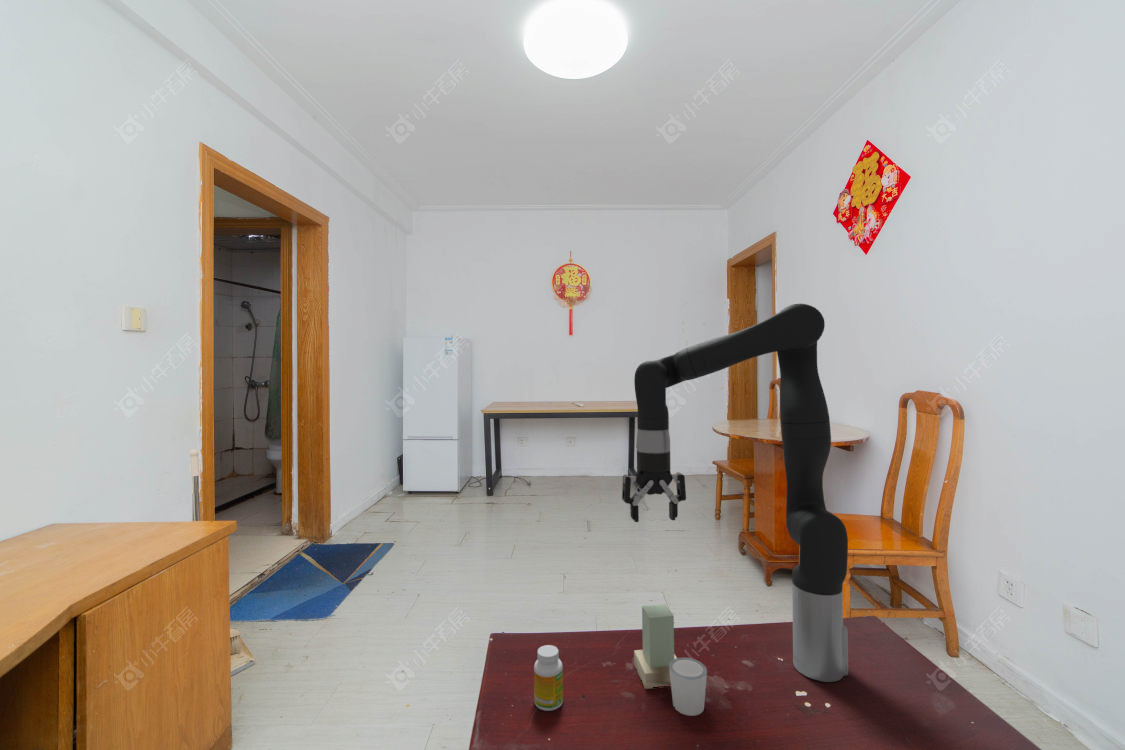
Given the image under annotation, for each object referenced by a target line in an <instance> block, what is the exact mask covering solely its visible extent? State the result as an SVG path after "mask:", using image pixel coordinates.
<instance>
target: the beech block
mask: <svg viewBox="0 0 1125 750" xmlns="http://www.w3.org/2000/svg"><path fill="white" fill-rule="evenodd" d="M677 658H678V657H677V656H676V654H675V653H674V659H677ZM633 665H634V668H635V669H637V670H636V671H637V674H638V676H639V679H640V681H641V680H642V681H641V683H642V684H643V688H644V690H646V689H647V690H648V689H654V688H653V687H658V686H665V685H671V680H670V671H669V666H666V667H655V668H650V667H649V665H648V663H647V661H646V659H645V657H644V655H643V649H637V650H636V649H635V650H633Z"/></svg>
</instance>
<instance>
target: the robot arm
mask: <svg viewBox="0 0 1125 750" xmlns="http://www.w3.org/2000/svg"><path fill="white" fill-rule="evenodd" d="M824 331H825V318H824V316H823V314H822V313H821V312H820V310H819V309H817V308H816V307H815V306H812V305H809V304H806V303H794V304H790V305H788V306H786V307H784V308H783V309H781V310H780V311H779V312H777V313H775V314H774V315H772V316H770V317H768V318H766V319H764V320H762V321H761V322H758V323H755V324H753V325H751V326H748V327H747V328H744V329H741V330H738V331H736V332H733V333H729V334H726V335H722V336H719V337H716V338H712V339H709V340H706V341H703V342H699V343H697V344H694V345H691V346H687V347H686V348H683V349H681V350H679V351H677V352H676V353H675V354H672V355H668V356H666V357H665V356H664V357H663V358H662V357H661V358H659V359H656V360H646V361H644V362H642V363H640V364H639V365H638V366H637V368H636V370H635V372H634V380H633V381H634V384H633V385H634V391H635V400H636V407H637V413H636V415H637V416H636V417H637V419H636V421H637V423H636V424H637V426H636V428H637V431H636V443H635V448H636V474H635V475H628V474H623V476H622V493H621V499H622V501H623V502H624V503H625V504H629V505H630V515H629V516H630V518H631V519H632V520H633V521H634V522H635V523H639V521H640V520H639V519H640V517H639V516H640V515H639V513H640V512H639V510H640V509H639V508H640V507H639V505H638V504H639V503H640V501H641V500H642V499H643V498H644V497H645V496H646V495H650V496H653V495H655V494H656V495H662V494H663V493H664V494H665V495H666V497H667V498H668V499H669V501H668V518H669V519H670V520H671V521H676V518H678V513H679V511H678V509H679V507H678V506H679V503H680V502H681V501H683V502H684V501H686V500H687V493H686V492H687V491H686V478H685V475H684V474H682V473H681V472H676V473H674V474H672V473H671V437H670V423H669V422H670V417H669V407H668V406H667V403H666V402H667V401H666V400H667V395H666V393H667V392H666V391H667V389H668V388H670V387H672V386H675V385H678V384H680V383H683V382H685V381H690V380H694V379H698V378H701V377H704V376H707V375H710V374H713V373H716V372H720V371H722V370H724V369H727V368H730V367H732V366H735V365H737V364H740V363H742V362H745V361H747V360H751V359H753V358H756V357H759V356H762V355H766V354H771V353H774V352H775V353H776V354H777V359H778V366H779V376H780V377H779V380H780V381H779V420H780V430H781V432H780V434H781V441H782V449H783V450H782V451H783V460H784V461H783V463H784V470H785V477H786V503H785V505H786V509H785V524H786V529H787V533H788V534H789V536H790V538H791V539H792V540H793V541H794V542H795V543H796V544H797V545H798V546H799V563H798V565H795V566H793V569H792V572H791V573H792V574H791V579H792V580H791V581H792V583H791V584H792V585H791V586H792V589H791V591H792V595H791V596H792V600H791V601H792V663H793V666H794V668H795V669H796V670H797V671H798V672H799V673H800V674H802V675H803V676H805V677H807V678H809V679H812V680H815V681H819V682H824V683H832V682H833V683H834V682H835V683H836V682H838V681H841V679H843V677H845V676H849V636H848V635H849V630H848V627H847V626H846V625H844V610H843V608H844V606H843V602H844V601H843V595H844V593H843V590H844V589H843V588H844V587H843V586H844V585H843V584H844V582H845V580H846V576H847V574H848V558H849V557H848V556H849V555H848V553H849V552H848V551H849V540H848V539H849V538H848V532H847V529H846V525H845V523H844V522H843V521H842V520H841V519H840V518H839V516H837V515H835V514H833V513H832V512H830V511H828V510H827V508H826V502H825V497H824V496H825V495H824V489H823V477H824V472H825V469H826V464H827V462H828V460H829V456H830V452H831V448H832V446H831V445H832V435H831V421H830V414H829V412H830V411H829V408H828V404H827V400H826V396H825V391H824V389H823V386H822V382H821V379H820V375H819V374H820V373H819V369H818V341H819V340H820V339H821V337H822V335H823V333H824ZM672 481H673V482H674V484H676V494H674V491H672V489H671V488H670V484H671V483H672ZM634 483H637V485H638V486H637V487H636V488H635V490H634V492H633V494H632V496H631V487H632V486H633V485H634Z"/></svg>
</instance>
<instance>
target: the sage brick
mask: <svg viewBox="0 0 1125 750" xmlns="http://www.w3.org/2000/svg"><path fill="white" fill-rule="evenodd" d="M641 609H642V610H641V619H642V620H641V622H642V623H641V628H642V632H641V633H642V650H643V655H644V657H645V659H646V661H647V663H648V665H649V667H650V668H655V667H666V666H669V664H670V662H671V661H672V660H674V654H675V630H674V629H675V628H674V627H675V622H674V621H675V618H674V614H673V613H672V611H671V610H670V608H668V606H667V604H665V603H663V604H651V605H642V606H641Z"/></svg>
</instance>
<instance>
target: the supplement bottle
mask: <svg viewBox="0 0 1125 750" xmlns="http://www.w3.org/2000/svg"><path fill="white" fill-rule="evenodd" d="M559 654H560V653H559V649H558V647H556V646H555V645H552V644H547V645H546V644H545V645H542V646H540V647H539V648H538V649H537V656H536V657H537V659H536V661H535V662H534V666H533V680H534V681H533V686H534V687H533V688H534V689H533V691H534V692H533V693H534V694H533V695H534V698H533V700H534V704H535V706H536V707H537V708H538V709H539V710H542V711H546V712H550V711H551V712H552V711H555V710H558V709H559V708H560V707H561V706H562V704H563V702H564V682H563V681H564V679H563V678H564V675H563V673H564V672H563V669H564V667H563V662H562V661H561V659H560V657H559Z"/></svg>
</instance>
